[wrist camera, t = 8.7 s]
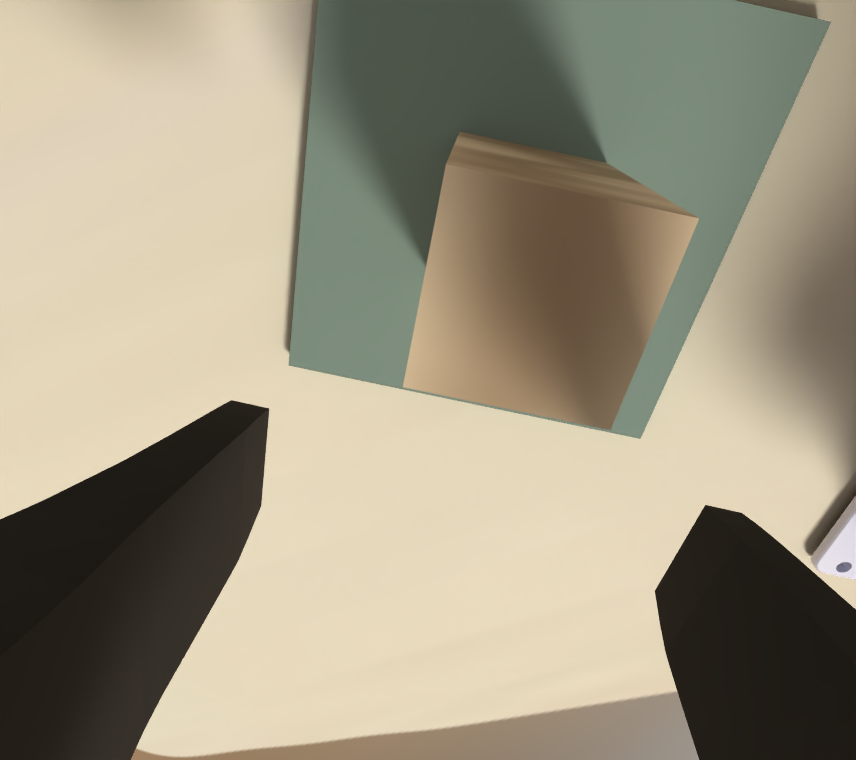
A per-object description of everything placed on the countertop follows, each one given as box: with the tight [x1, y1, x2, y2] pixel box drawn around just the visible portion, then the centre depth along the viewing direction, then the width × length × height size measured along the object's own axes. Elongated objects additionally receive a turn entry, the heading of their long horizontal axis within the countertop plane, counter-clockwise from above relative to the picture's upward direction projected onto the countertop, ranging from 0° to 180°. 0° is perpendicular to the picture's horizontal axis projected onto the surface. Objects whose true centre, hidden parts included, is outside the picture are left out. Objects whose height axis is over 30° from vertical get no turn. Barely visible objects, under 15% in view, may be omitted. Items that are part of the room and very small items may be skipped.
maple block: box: [403, 131, 699, 430], centre depth 13 cm, size 4×4×7 cm
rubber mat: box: [289, 0, 831, 439], centre depth 16 cm, size 12×12×1 cm
